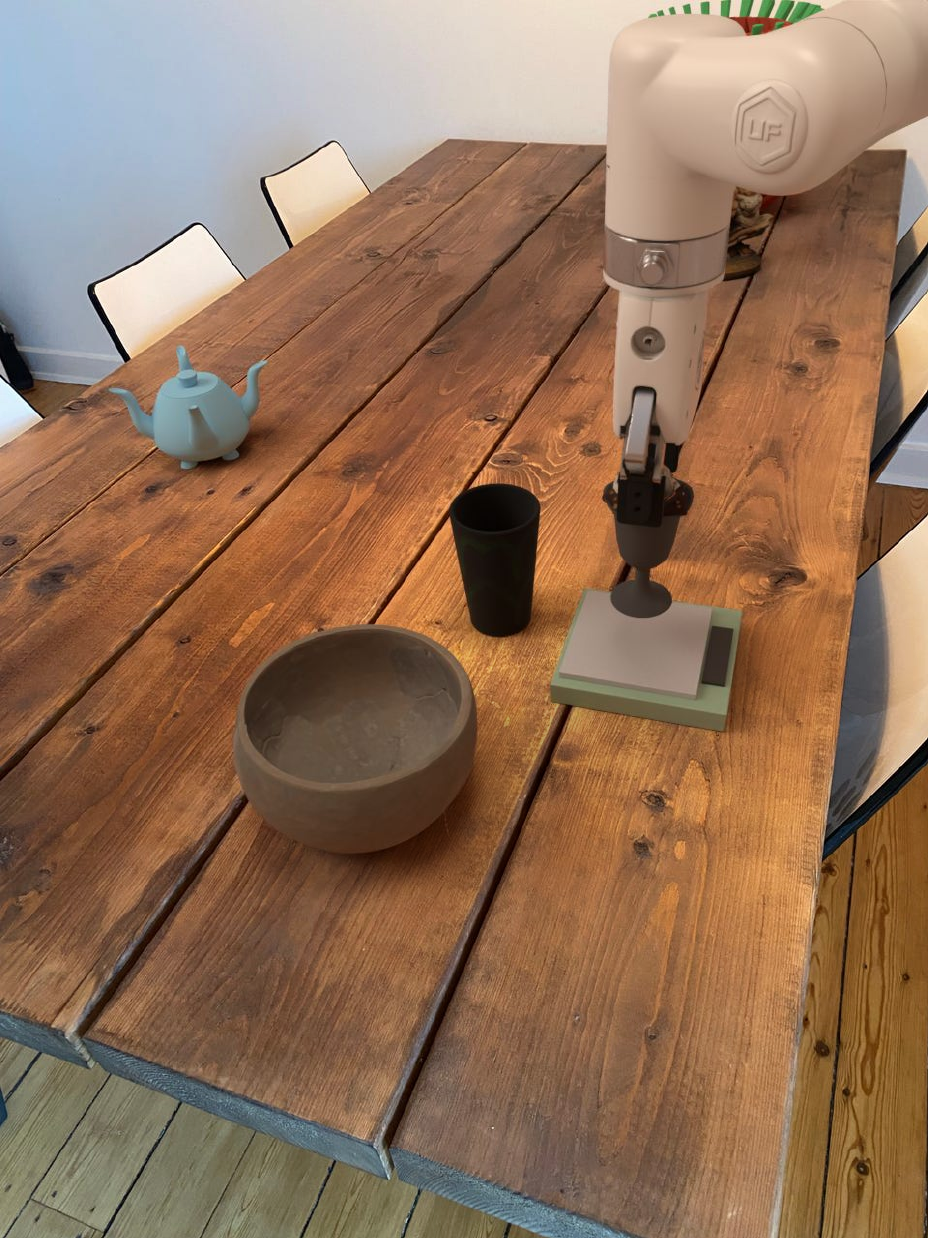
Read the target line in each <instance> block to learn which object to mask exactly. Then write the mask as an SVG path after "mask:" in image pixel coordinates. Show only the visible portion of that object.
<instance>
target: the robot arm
mask: <svg viewBox="0 0 928 1238" xmlns="http://www.w3.org/2000/svg"><path fill="white" fill-rule="evenodd" d="M823 9H824V10H822V11H820V12H817V13H815V14H813V15H811V16H809V17H807V18H805V19H803V20H801V21H799V22H796V23H794V24H792V25H789V26H786V27H783V28H780V29H777V30H774V31H772V32H769V33H766V34H760V35H752V36H746V33H745V31H744V29H743V28H742V26H740V25H739V24H738V23H737V22H736V21H734V20H732V19H729V18H727V17H723V16H721V15H717V14H710V15H708V14H701V13H692V14H685V13H676V14H675V15H670V14H664V15H665V16H658V15H657V17H652V18H648V17H646V18H643V19H639V20H637V21H636V20H635V21H634V22H632V23H630V24H627V25H625V26H624V27H623V28H622V29H621V30H620V31H619V32H618V34H617V35H616V37H615V38H614V40H613V42H612V45H611V47H610V48H611V49H610V53H609V62H608V63H609V64H608V65H609V66H608V83H607V116H606V117H607V118H606V119H607V121H606V126H607V127H606V151H605V153H606V154H605V158H606V159H605V197H604V198H605V199H604V200H605V201H604V204H605V205H604V229H603V262H602V263H603V264H602V265H603V269H602V278H603V281H604V282H605V283H606V284H607V286H609V287H611V288H612V289H614V290H616V291H618V301H617V302H618V304H617V315H616V317H617V318H616V322H615V327H616V331H615V333H616V334H615V346H614V347H615V348H614V349H615V350H614V365H613V367H614V369H613V387H612V388H613V389H612V390H613V391H612V431H613V434H614V435H615V436H616V438H617V439H619V440H621V441H622V440H623V441H622V450H621V457H620V458H621V459H620V467H619V468H620V469H619V471H618V472H619V475H618V495H617V521H618V522H619V523H622V524H629V525H638V526H646V527H654V528H658V527H660V526H661V524H662V520H663V510H664V498H665V486H666V476H662V471H663V464H664V465H665V466H666V467H667V468H668V469H669V470H670V473H671V474H674V473H676V472H677V470H678V467H679V459H680V458H679V457H680V447H681V445H682V444H684V442H686V441H687V440H688V437H689V435H690V432H691V429H692V426H693V422H694V418H695V414H696V412H697V408H698V403H699V400H700V397H701V396H700V395H701V393H702V392H701V391H702V385H703V369H704V355H705V341H706V333H707V332H706V331H707V319H708V316H707V315H708V306H709V291H710V290H712V289H714V288H715V287H716V286H718V285H720V284H721V283H722V282H723V281H724V280H723V279H724V275H725V265H726V256H727V247H728V238H729V229H730V218H731V209H732V200H733V192H734V186H737V187H740V188H743V189H746V190H749V191H753V192H756V193H761V194H766V195H776V196H780V197H782V196H783V197H784V196H793V195H798V194H802V193H804V192H808V191H810V190H813V189H815V188H816V187H818V186H820V185H822V184H824V183H825V182H826V181H828V180H829V179H831V178H833V176H835V175H836V174H838V172H840V171H841V170H842V169H844V168H845V167H846V166H847V165H849V164H850V163H851V162H853V161H854V160H855V159H856V158H858V157H860V155H862V154H863V153H864V152H866V151H867V150H868V149H870V148H871V147H872V146H874V145H875V144H877V143H879V142H880V141H881V140H883V139H884V138H886V137H888V136H890V135H892V134H894V133H896V132H898V131H900V130H902V129H904V128H906V127H908V126H910V125H912V124H914V123H916V122H919V121H921V120H923V119H925V118H927V117H928V0H842V1H840V2H838V3H836V4H833V5H831V6H830V7H827V8H823ZM653 459H654V462H653Z"/></svg>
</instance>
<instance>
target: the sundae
mask: <svg viewBox="0 0 928 1238" xmlns="http://www.w3.org/2000/svg"><path fill="white" fill-rule="evenodd" d="M653 462H654V459H653ZM619 472H620V471H617V473H616V476H615V477H614V479H613V480H612V481H611V482H608V483H607V484H606V485H605V487H604V488H603V490H602V495H601V500H602V502H603V503H605V504H606V505H607V507H608V508H609V510H610V512H611V513H612V515H613V520H614V528H615V538H616V539H615V540H616V544H617V548H618V553H619V556H620V557H621V559H622V560H623V561H624V562H625V563H626V564H628V565H629V566H630V567H632V568H634V569H635V577H634V579H629V580H625V581H622V582H620V583H619V584H617V585H616V586H614V588H613V589H612V591H610V592H611V595H610V600H611V603H612V605H613V606H614V608H615V609H616V610H617V611H619V612H621V613H622V614H624V615H626V616H630V617H634V618H652V617H656V616H659V615H661V614H663V613H664V612H666V611H667V610H668V609H669V608H670V606H671V604H672V600H673V597H672V594H671V592H670V590H668V588H667V587H665V585H663V584H661V583H660V582H657V581H655V580H651V579H650V576H651V570H652V569H655V568H656V567H657V568H658V566H660V565H662V564H663V563H664V562H666V561H667V560H668V559H669V558H670V557H669V556H670V554H671V551H672V549H673V546H674V543H675V540H676V536H677V531H678V527H679V522H680V520H681V517H683V516H684V517H685V516H687V515H688V513H689V511H690V509H691V507H692V505H693V502H694V499H695V494H694V493H695V492H694V489H693V487H692V486H691V485H690V484H689V483H687V482H686V481H683V480H682V479H679V478H676V477H674V473H670V470H669V469H668V468H667V467H666V466H665V465H664V464H663V471H662V476H666V486H665V498H664V510H663V520H662V524H661V526H660V527H658V528H654V527H646V526H638V525H629V524H622V523H619V522H618V521H617V495H618V475H619Z"/></svg>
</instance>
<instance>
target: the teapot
mask: <svg viewBox="0 0 928 1238" xmlns="http://www.w3.org/2000/svg"><path fill="white" fill-rule="evenodd" d="M175 354H176V357H177V361H178V369H179V372H178V373H177V374H176V376H173V377H171V378H169V379H168V380H166V381H165V382H164V383H163V384H162V385H161V386H160V388H159V389H158V390H159V391H158V393H157V395H156V398H155V401H154V404H153V407H152V411H151V415H150V414H147V413H146V412H144V411H143V410H142V409H141V407H140V405H139V403H138V400H137V398H136V397H135V395H134V394H133V393H132V392H131V391H130V390H127V389H124V388H119V387H118V388H116V387H111V388H110V387H109V388H108V391H109V392H110V393H112V394H114V395H116V396H118V397H119V398H120V399H121V400H122V401H123V402H124V404H126V407H127V409H128V410H127V411H128V412H129V415H130V418H131V420H132V423H133V425H134V426H135V428H136V429H137V431H138V432H139V433H140V434H141V435H142V436H144V437H145V438H148V439H150V440H153V443H154V445H155V446H156V447H157V449H158V450H159V451H161V452H162V453H164V454H166V455H167V456H169V457H171V458H173V459H174V460H178V461H180V468H181V469H183V470H189V469H194V468H195V467H197V466H198V464H199V463H198V462H203V461H210V460H215V459H217V458H222V459H223V460H224V461H232V460H233V461H234V460H236V459H237V458H239V456H240V453H239V452H238V450H236V449H237V448H238V447H240V445H242V443H243V442H244V440H245V439H246V437H247V435H248V433H249V431H250V428H251V419H252V418H253V417H254V416H255V415H256V413H257V411H258V410H259V406H260V390H259V374H260V373H261V370H262V369H263V368H264V366H265V365H266V364H267V363H268V360H261V361H259V362H256V363H254V364H253V365H252V366H251V367H250V368H249V369H248V371H247V375H246V391H245V392H244V394H243V395H242V396H241V397H239V395H238V394H237V393H236V392H235V391H234V389H233V388H231V387H230V385H228V384H227V383H226V382H225V381H224V380H223V379H221V378H220V377H219V376H218V375H216V374H214V373H211V372H209V371H197V370H195V368H194V366H193V365H192V363H191V360H190V358H189V356H188V352H187V350H186V348H185V347H184V346H183V345H177V346H176V348H175Z"/></svg>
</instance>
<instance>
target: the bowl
mask: <svg viewBox="0 0 928 1238" xmlns="http://www.w3.org/2000/svg"><path fill="white" fill-rule="evenodd" d="M472 685H473V684H472V682H471V679H470V677H469V675H468V673H467V671H466V670H465V668H464V666H463V664H462V663H461V662H460V661H459V659H458V658H457V657H456V656H455V655H454V653H452V652H451V651H450V650H449V649H448V648H446V647H445V646H444V645H442V644H441V643H439V642H437V641H436V640H434V639H433V638H431V637H429V636H427V635H425V634H423V633H421V632H417V631H415V630H411V629H407V628H403V627H399V626H393V625H386V624H374V623H372V624H371V623H363V624H352V625H351V624H350V625H342V626H337V627H332V628H328V629H324V630H320V631H316V632H313V633H309V634H307V635H305V636H303V637H300V638H298V639H296V640H293V641H291V642H289V643H287V644H285V645H284V646H282V647H280V648H279V649H277V650H276V651H274V653H272V654H271V655H270V656H268V657H267V658H265V660H264V661H263V662H262V663H261V664H260V665H259V666H258V667H257V668H256V670H255V671H254V672H253V673H252V674H251V676H250V678H249V679H248V680H247V682H246V684H245V686H244V688H243V690H242V692H241V695H240V697H239V701H238V705H237V708H236V715H235V721H234V729H233V736H232V737H233V738H232V739H233V740H232V741H233V742H232V743H233V744H232V745H233V746H232V749H233V765H234V769H235V773H236V775H237V778H238V780H239V783H240V787H241V789H242V791H243V792H244V794H245V797H246V798H247V800H248V802H249V804H250V805H251V806H252V808H253V809H254V811H255V812H256V813H257V814H258V816H260V817H261V818H262V820H264V821H265V822H266V823H267V824H268V825H269V826H271V827H272V828H273V829H275V830H276V831H278V832H279V833H281V834H282V835H284V836H286V837H287V838H289V839H291V840H293V841H294V842H297V843H300V844H302V845H305V846H307V847H310V848H312V849H315V850H318V851H323V852H327V853H335V854H344V855H345V854H346V855H347V854H351V855H353V854H355V855H356V854H366V853H373V852H378V851H381V850H385V849H388V848H392V847H395V846H398V845H400V844H402V843H404V842H406V841H408V840H410V839H411V838H413V837H416V835H418V834H420V833H421V832H423V831H424V830H425V829H426V828H428V827H429V826H431V825H432V824H433V823H434V822H435V821H436V820H437V819H438V818H439V817H440V816H441V815H442V814H443V812H445V810H446V809H447V808H448V807H449V806H450V804H452V802H453V801H454V800H455V799H456V797H457V796H458V795H459V793H460V791H461V790H462V788H463V787H464V785H465V783H466V781H467V779H468V777H469V774H470V771H471V769H472V767H473V765H474V758H475V752H476V746H477V741H478V708H477V707H478V706H477V701H476V697H475V692H474V688H473V686H472Z"/></svg>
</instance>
